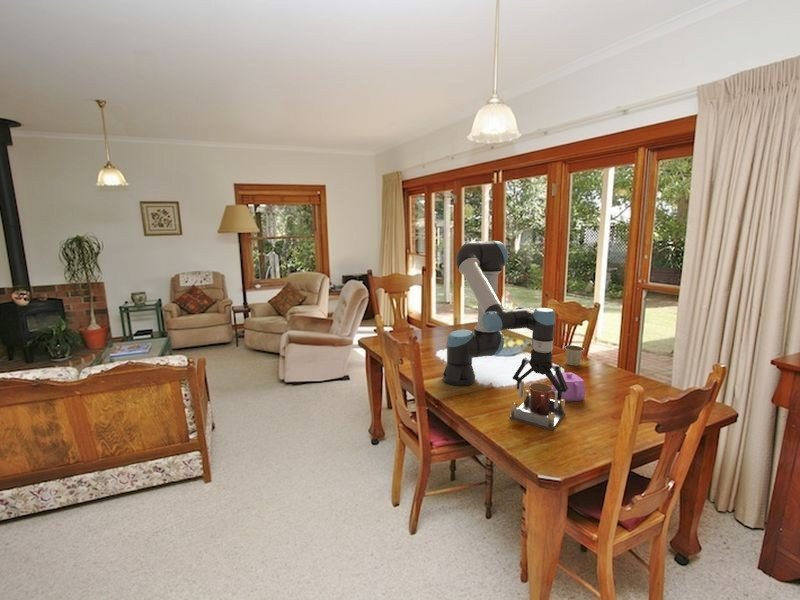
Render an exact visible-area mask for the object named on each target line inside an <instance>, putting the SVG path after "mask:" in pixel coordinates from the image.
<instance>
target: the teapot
mask: <svg viewBox="0 0 800 600" xmlns="http://www.w3.org/2000/svg"><path fill="white" fill-rule="evenodd" d="M561 373H562V375H563V378H564V380H565V382H566V385H567V387H568V390H567V391H566V392H562V398H561V399H565V402H578V401H579V402H580V401H584V400H585V397H586V387H585V385H586V384H585V381H584V379H583V378H581V377H580V376H579V375H577V374H575V373H573V372H570V371H569V372H561ZM553 375H554V377H555V378H556V380H557V381H558V382H559V380H558V378H557V375H556V372H555V373H554V374H553ZM551 384H552V383H551ZM559 384H560V383H559ZM551 387H552V388H553V391H552V393H553V394H554V395H555V392H556V391H557V390H556V388H555V387H554V385H553V384H552V385H551Z"/></svg>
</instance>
